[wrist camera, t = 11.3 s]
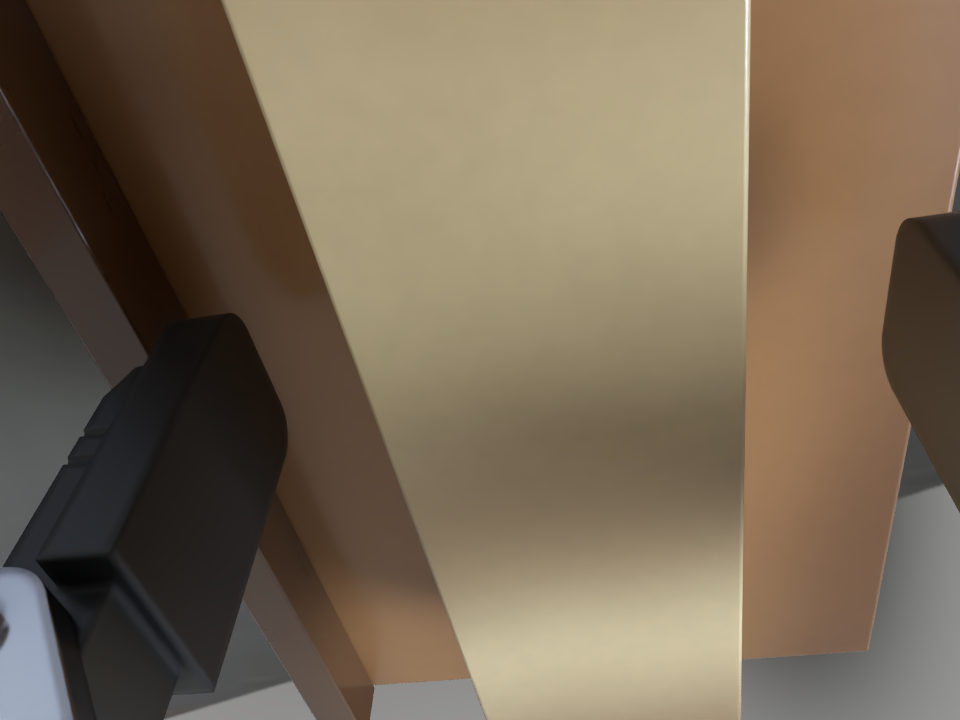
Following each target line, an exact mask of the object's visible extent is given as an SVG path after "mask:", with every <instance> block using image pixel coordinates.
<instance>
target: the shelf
mask: <svg viewBox="0 0 960 720" xmlns="http://www.w3.org/2000/svg"><path fill="white" fill-rule="evenodd" d="M959 170H960V0H751V42H750V113H749V183H748V254H747V324H746V395H745V466H744V536H743V607H742V659H754V658H755V659H756V658H770V657H783V656H799V655H813V654H827V653H842V652H855V651H866V650H868V649H869V645H870V640H871V635H872V629H873V624H874V619H875V613H876V608H877V603H878V597H879V592H880V587H881V582H882V576H883V571H884V566H885V560H886V555H887V549H888V545H889V540H890V534H891V528H892V524H893V518H894V513H895V508H896V502H897V497H898V492H899V487H900V481H901V476H902V471H903V466H904V460H905V455H906V450H907V445H908V439H909V434H910V429H911V423H910V421H909V419H908V418H907V416H906V414H905V412H904V410H903V408H902V407H901V405H900V403H899V401H898V399H897V398H896V396H895V394H894V392H893V390H892V388H891V386H890V384H889V381H888V378H887V375H886V371H885V367H884V362H883V355H882V330H883V323H884V317H885V310H886V303H887V296H888V289H889V282H890V275H891V268H892V261H893V255H894V248H895V241H896V236H897V232H898V229H899V227H900V225H901V224H902V222H903V221H904V220H906V219H908V218H914V217H921V216H928V215H935V214H942V213H949V212H952V207H953V202H954V196H955V191H956V186H957V181H958V175H959ZM0 210H1V212H2V213H3V215H4V217H5V218H6V220H7V222H8V223H9V225H10V226H11V228H12V230H13V231H14V233H15V234H16V236H17V238H18V239H19V241H20V242H21V244H22V246H23V247H24V249H25V251H26V252H27V254H28V255H29V257H30V259H31V260H32V262H33V263H34V265H35V267H36V268H37V270H38V272H39V273H40V275H41V276H42V278H43V280H44V281H45V283H46V284H47V286H48V288H49V289H50V291H51V293H52V294H53V296H54V297H55V299H56V301H57V302H58V304H59V305H60V307H61V309H62V310H63V312H64V313H65V315H66V317H67V318H68V320H69V322H70V323H71V325H72V326H73V328H74V330H75V331H76V333H77V334H78V336H79V338H80V339H81V341H82V343H83V344H84V346H85V347H86V349H87V351H88V352H89V354H90V355H91V357H92V359H93V360H94V362H95V363H96V365H97V367H98V368H99V370H100V372H101V373H102V375H103V376H104V378H105V380H106V381H107V383H108V384H109V386H110V388H111V389H113V388H114V387H115V386H116V385H117V384H118V383H119V382H120V381H121V380H122V379H124V378H125V377H126V376H127V375H128V374H129V373H130V372H131V371H132V370H133V369H134V368H135V367H139V366H144V364H145V362H146V360H147V358H148V357H149V355H150V353H151V351H152V350H153V348H154V346H155V344H156V342H157V341H158V339H159V337H160V335H161V334H162V332H163V330H164V328H165V327H166V326H167V324H169V323H170V322H172V321H175V320H182V319H189V318H196V317H203V316H210V315H217V314H224V313H234V314H236V315H237V316H239V317H240V318H241V319H242V321H243V322H244V324H245V325H246V327H247V329H248V331H249V334H250V336H251V338H252V340H253V342H254V345H255V347H256V349H257V351H258V353H259V356H260V358H261V360H262V362H263V364H264V367H265V369H266V371H267V373H268V375H269V378H270V380H271V382H272V384H273V386H274V388H275V391H276V393H277V395H278V397H279V399H280V402H281V404H282V406H283V409H284V413H285V417H286V421H287V429H288V447H287V453H286V457H285V461H284V464H283V467H282V471H281V474H280V477H279V480H278V484H277V487H276V490H275V493H274V497H273V500H272V503H271V507H270V510H269V513H268V516H267V520H266V523H265V526H264V530H263V533H262V536H261V539H260V543H259V546H258V549H257V552H256V556H255V559H254V562H253V566H252V569H251V572H250V575H249V579H248V582H247V585H246V589H245V592H244V595H243V598H242V601H243V602H244V604H245V605H246V607H247V609H248V610H249V612H250V614H251V615H252V617H253V618H254V620H255V622H256V623H257V625H258V626H259V628H260V630H261V631H262V633H263V634H264V636H265V638H266V639H267V641H268V643H269V644H270V646H271V647H272V649H273V651H274V652H275V654H276V655H277V657H278V659H279V660H280V662H281V664H282V665H283V667H284V668H285V670H286V672H287V673H288V675H289V676H290V678H291V680H292V681H293V683H294V684H295V686H296V688H297V689H298V691H299V693H300V694H301V696H302V697H303V699H304V701H305V702H306V704H307V705H308V707H309V709H310V710H311V712H312V714H313V715H314V717H315V718H316V720H370V714H371V707H372V700H373V693H374V686H373V685H381V684H382V685H383V684H397V683H410V682H426V681H440V680H454V679H469V678H470V675H469V672H468V670H467V667H466V664H465V662H464V659H463V656H462V653H461V651H460V648H459V645H458V643H457V640H456V637H455V635H454V632H453V629H452V626H451V624H450V621H449V618H448V616H447V613H446V610H445V607H444V605H443V602H442V599H441V597H440V594H439V591H438V588H437V586H436V583H435V580H434V578H433V575H432V572H431V569H430V567H429V564H428V561H427V559H426V556H425V553H424V550H423V548H422V545H421V542H420V540H419V537H418V534H417V531H416V529H415V526H414V523H413V521H412V518H411V515H410V512H409V510H408V507H407V504H406V502H405V499H404V496H403V493H402V491H401V488H400V485H399V483H398V480H397V477H396V474H395V472H394V469H393V466H392V464H391V461H390V458H389V455H388V453H387V450H386V447H385V445H384V442H383V439H382V436H381V434H380V431H379V428H378V426H377V423H376V420H375V417H374V415H373V412H372V409H371V407H370V404H369V401H368V399H367V396H366V393H365V390H364V388H363V385H362V382H361V380H360V377H359V374H358V371H357V369H356V366H355V363H354V361H353V358H352V355H351V352H350V350H349V347H348V344H347V342H346V339H345V336H344V333H343V331H342V328H341V325H340V323H339V320H338V317H337V314H336V312H335V309H334V306H333V304H332V301H331V298H330V295H329V293H328V290H327V287H326V285H325V282H324V279H323V276H322V274H321V271H320V268H319V266H318V263H317V260H316V257H315V255H314V252H313V249H312V247H311V244H310V241H309V238H308V236H307V233H306V230H305V228H304V225H303V222H302V219H301V217H300V214H299V211H298V209H297V206H296V203H295V200H294V198H293V195H292V192H291V190H290V187H289V184H288V181H287V179H286V176H285V173H284V171H283V168H282V165H281V163H280V160H279V157H278V154H277V152H276V149H275V146H274V144H273V141H272V138H271V135H270V133H269V130H268V127H267V125H266V122H265V119H264V116H263V114H262V111H261V108H260V106H259V103H258V100H257V97H256V95H255V92H254V89H253V87H252V84H251V81H250V78H249V76H248V73H247V70H246V68H245V65H244V62H243V59H242V57H241V54H240V51H239V49H238V46H237V43H236V40H235V38H234V35H233V32H232V30H231V27H230V24H229V21H228V19H227V16H226V13H225V11H224V8H223V5H222V2H221V0H0Z"/></svg>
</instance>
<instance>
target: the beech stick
mask: <svg viewBox="0 0 960 720" xmlns="http://www.w3.org/2000/svg"><path fill="white" fill-rule="evenodd" d="M221 2H222V5H223V8H224V11H225V13H226V16H227V19H228V21H229V24H230V27H231V30H232V32H233V35H234V38H235V40H236V43H237V46H238V49H239V51H240V54H241V57H242V59H243V62H244V65H245V68H246V70H247V73H248V76H249V78H250V81H251V84H252V87H253V89H254V92H255V95H256V97H257V100H258V103H259V106H260V108H261V111H262V114H263V116H264V119H265V122H266V125H267V127H268V130H269V133H270V135H271V138H272V141H273V144H274V146H275V149H276V152H277V154H278V157H279V160H280V163H281V165H282V168H283V171H284V173H285V176H286V179H287V181H288V184H289V187H290V190H291V192H292V195H293V198H294V200H295V203H296V206H297V209H298V211H299V214H300V217H301V219H302V222H303V225H304V228H305V230H306V233H307V236H308V238H309V241H310V244H311V247H312V249H313V252H314V255H315V257H316V260H317V263H318V266H319V268H320V271H321V274H322V276H323V279H324V282H325V285H326V287H327V290H328V293H329V295H330V298H331V301H332V304H333V306H334V309H335V312H336V314H337V317H338V320H339V323H340V325H341V328H342V331H343V333H344V336H345V339H346V342H347V344H348V347H349V350H350V352H351V355H352V358H353V361H354V363H355V366H356V369H357V371H358V374H359V377H360V380H361V382H362V385H363V388H364V390H365V393H366V396H367V399H368V401H369V404H370V407H371V409H372V412H373V415H374V417H375V420H376V423H377V426H378V428H379V431H380V434H381V436H382V439H383V442H384V445H385V447H386V450H387V453H388V455H389V458H390V461H391V464H392V466H393V469H394V472H395V474H396V477H397V480H398V483H399V485H400V488H401V491H402V493H403V496H404V499H405V502H406V504H407V507H408V510H409V512H410V515H411V518H412V521H413V523H414V526H415V529H416V531H417V534H418V537H419V540H420V542H421V545H422V548H423V550H424V553H425V556H426V559H427V561H428V564H429V567H430V569H431V572H432V575H433V578H434V580H435V583H436V586H437V588H438V591H439V594H440V597H441V599H442V602H443V605H444V607H445V610H446V613H447V616H448V618H449V621H450V624H451V626H452V629H453V632H454V635H455V637H456V640H457V643H458V645H459V648H460V651H461V653H462V656H463V659H464V662H465V664H466V667H467V670H468V672H469V675H470V678H471V680H472V683H473V686H474V689H475V691H476V694H477V697H478V700H479V702H480V705H481V708H482V710H483V713H484V715H485V718H486V720H741V677H742V676H741V675H742V673H741V672H742V607H743V536H744V466H745V395H746V324H747V254H748V183H749V113H750V42H751V0H221Z"/></svg>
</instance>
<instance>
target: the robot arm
mask: <svg viewBox="0 0 960 720" xmlns="http://www.w3.org/2000/svg"><path fill="white" fill-rule="evenodd" d="M882 355H883V362H884V367H885V371H886V375H887V378H888V381H889V384H890V386H891V388H892V390H893V392H894V394H895V396H896V398H897V399H898V401H899V403H900V405H901V407H902V408H903V410H904V412H905V414H906V416H907V418H908V419H909V421H910V423H911V425H912V427H913V428H914V430H915V432H916V434H917V436H918V438H919V439H920V441H921V443H922V445H923V447H924V449H925V450H926V452H927V454H928V456H929V458H930V459H931V461H932V463H933V465H934V467H935V469H936V470H937V472H938V474H939V476H940V478H941V479H942V481H943V483H944V485H945V487H946V489H947V490H948V492H949V494H950V496H951V497H952V499H953V501H954V503H955V505H956V507H957V509H958V510H959V512H960V211H956V212H949V213H942V214H935V215H928V216H921V217H914V218H908V219H906V220H904V221H903V222H902V224H901V225H900V227H899V229H898V232H897V236H896V241H895V248H894V255H893V261H892V268H891V275H890V282H889V289H888V296H887V303H886V310H885V317H884V323H883V330H882ZM84 432H85V436H84V437H79V439H78V441H77V443H76V444H75V446H74V448H73V449H72V451H71V453H70V454H69V456H68V464H67V465H63V466H62V468H61V469H60V471H59V473H58V474H57V476H56V478H55V480H54V481H53V483H52V485H51V486H50V488H49V490H48V491H47V493H46V495H45V496H44V498H43V500H42V501H41V503H40V505H39V506H38V508H37V510H36V512H35V513H34V515H33V517H32V518H31V520H30V522H29V523H28V525H27V527H26V528H25V530H24V532H23V533H22V535H21V537H20V538H19V540H18V542H17V544H16V545H15V547H14V549H13V550H12V552H11V554H10V555H9V557H8V559H7V560H6V562H5V564H4V565H3V567H2V568H0V720H163V719H164V717H165V714H166V711H167V708H168V705H169V702H170V699H171V696H172V695H183V694H198V693H212V692H214V690H215V687H216V684H217V680H218V677H219V674H220V671H221V667H222V664H223V661H224V657H225V654H226V651H227V648H228V644H229V641H230V638H231V634H232V631H233V628H234V625H235V621H236V618H237V615H238V612H239V608H240V605H241V602H242V598H243V595H244V592H245V589H246V585H247V582H248V579H249V575H250V572H251V569H252V566H253V562H254V559H255V556H256V552H257V549H258V546H259V543H260V539H261V536H262V533H263V530H264V526H265V523H266V520H267V516H268V513H269V510H270V507H271V503H272V500H273V497H274V493H275V490H276V487H277V484H278V480H279V477H280V474H281V471H282V467H283V464H284V461H285V457H286V453H287V447H288V429H287V421H286V417H285V413H284V409H283V406H282V404H281V402H280V399H279V397H278V395H277V393H276V391H275V388H274V386H273V384H272V382H271V380H270V378H269V375H268V373H267V371H266V369H265V367H264V364H263V362H262V360H261V358H260V356H259V353H258V351H257V349H256V347H255V345H254V342H253V340H252V338H251V336H250V334H249V331H248V329H247V327H246V325H245V324H244V322H243V321H242V319H241V318H240V317H239V316H237V315H236V314H234V313H224V314H217V315H210V316H203V317H196V318H189V319H182V320H175V321H172V322H170V323H169V324H167V326H166V327H165V328H164V330H163V332H162V334H161V335H160V337H159V339H158V341H157V342H156V344H155V346H154V348H153V350H152V351H151V353H150V355H149V357H148V358H147V360H146V362H145V364H144V366H139V367H135V368H134V369H133V370H132V371H131V372H130V373H129V374H128V375H127V376H126V377H125V378H124V379H122V380H121V381H120V382H119V383H118V384H117V385H116V386H115V387H114V388H113V389H112V390H111V391H110V392H109V393H107V394H106V395H105V396H104V397H103V399H102V400H101V402H100V404H99V405H98V407H97V409H96V411H95V412H94V414H93V416H92V417H91V419H90V421H89V422H88V424H87V426H86V427H85V429H84Z"/></svg>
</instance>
